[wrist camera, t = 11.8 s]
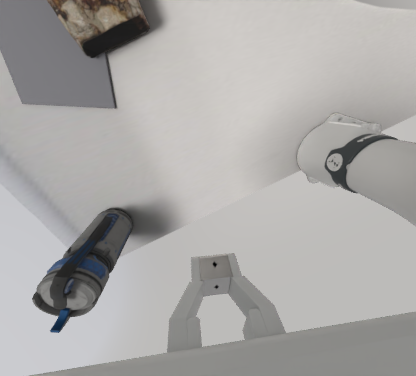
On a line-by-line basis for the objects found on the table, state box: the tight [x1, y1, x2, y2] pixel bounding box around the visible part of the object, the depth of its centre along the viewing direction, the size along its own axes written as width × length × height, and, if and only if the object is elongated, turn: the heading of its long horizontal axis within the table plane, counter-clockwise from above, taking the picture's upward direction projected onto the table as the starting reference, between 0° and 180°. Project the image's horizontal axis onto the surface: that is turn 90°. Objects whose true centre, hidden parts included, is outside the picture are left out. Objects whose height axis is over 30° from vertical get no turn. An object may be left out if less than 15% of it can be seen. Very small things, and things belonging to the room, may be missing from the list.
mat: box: [0, 0, 116, 108], centre depth 30 cm, size 18×18×1 cm
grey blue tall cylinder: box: [32, 210, 133, 333], centre depth 37 cm, size 10×13×25 cm
